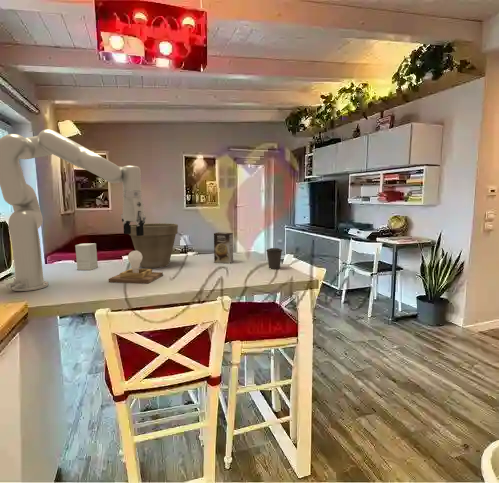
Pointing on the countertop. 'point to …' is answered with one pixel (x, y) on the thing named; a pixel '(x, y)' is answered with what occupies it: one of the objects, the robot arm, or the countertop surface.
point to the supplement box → (86, 256)
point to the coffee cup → (274, 257)
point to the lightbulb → (135, 260)
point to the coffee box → (223, 247)
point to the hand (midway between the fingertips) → (133, 234)
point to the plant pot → (155, 243)
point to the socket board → (136, 276)
